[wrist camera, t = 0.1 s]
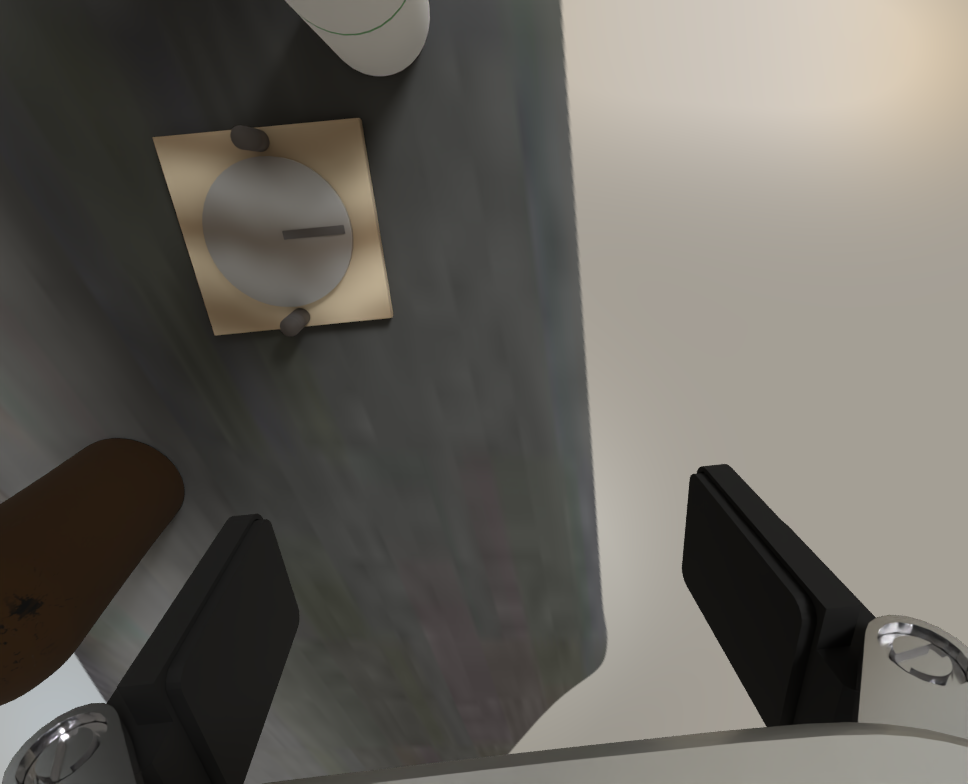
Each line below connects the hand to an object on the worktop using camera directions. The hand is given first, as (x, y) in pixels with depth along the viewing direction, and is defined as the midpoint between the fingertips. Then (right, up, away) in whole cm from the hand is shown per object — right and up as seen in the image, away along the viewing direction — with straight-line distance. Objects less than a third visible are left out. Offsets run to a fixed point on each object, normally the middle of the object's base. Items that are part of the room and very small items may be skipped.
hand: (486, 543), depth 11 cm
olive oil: (-32, -5, +34) cm, 47 cm away
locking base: (-15, +15, +27) cm, 34 cm away
